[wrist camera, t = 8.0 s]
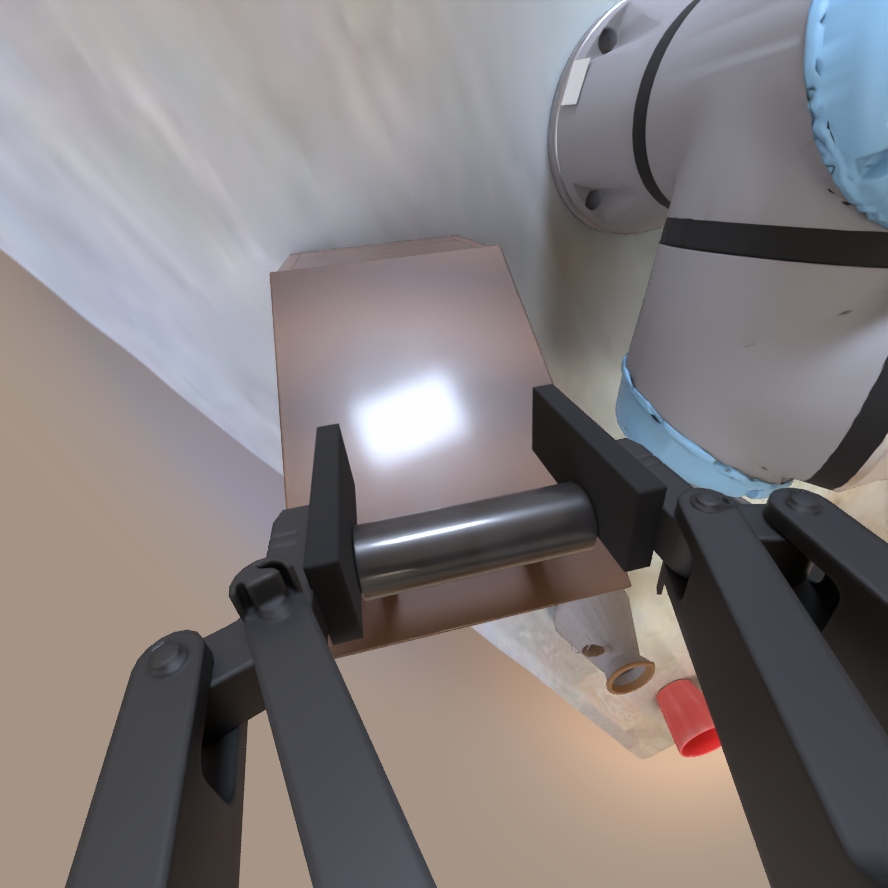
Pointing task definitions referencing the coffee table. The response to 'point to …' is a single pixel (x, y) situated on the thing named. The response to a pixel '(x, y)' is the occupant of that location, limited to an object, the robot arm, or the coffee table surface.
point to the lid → (432, 441)
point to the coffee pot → (606, 638)
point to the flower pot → (688, 718)
